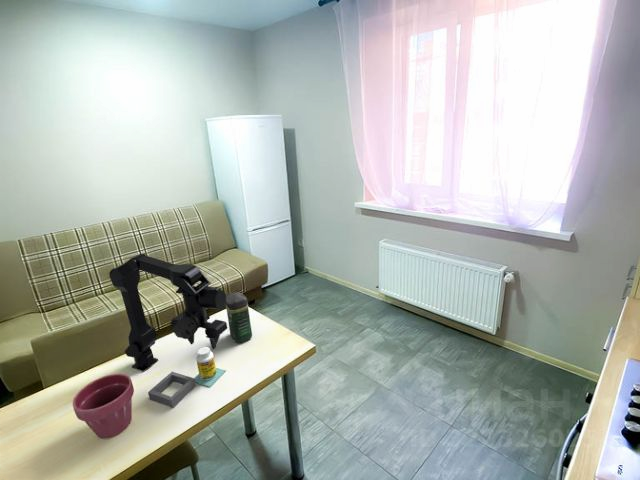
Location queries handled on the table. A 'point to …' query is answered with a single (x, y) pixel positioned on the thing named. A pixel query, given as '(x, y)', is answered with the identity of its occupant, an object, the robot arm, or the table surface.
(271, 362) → the table surface
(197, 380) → the mat
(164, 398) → the socket
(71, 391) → the table surface
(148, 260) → the robot arm
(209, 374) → the supplement bottle
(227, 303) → the coffee jar
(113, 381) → the plant pot
